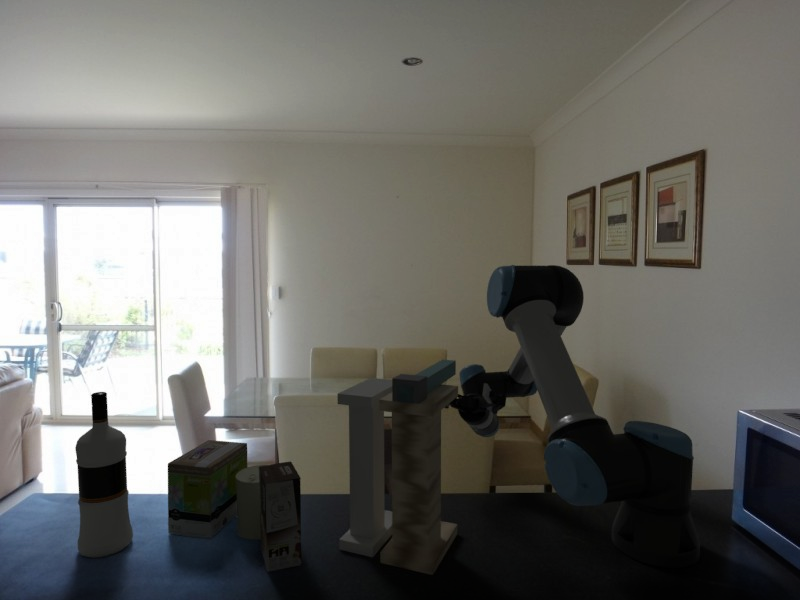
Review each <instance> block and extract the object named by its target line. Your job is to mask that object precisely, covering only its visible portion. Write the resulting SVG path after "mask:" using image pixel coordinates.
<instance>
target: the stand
mask: <svg viewBox="0 0 800 600" xmlns="http://www.w3.org/2000/svg"><path fill="white" fill-rule="evenodd" d="M390 393H392V379H388V378H387V379H385V378H375V377H369V378H368V379H366V380H363V381H362V382H359V383H357V384H355V385H353V386H350V387H348V388H346V389H344V390H343V391H340V392H338V393H337V394H336V395H337V405H341V406H342V405H343V406H348V439H349V440H348V447H349V449H348V450H349V451H348V453H349V455H348V456H349V457H348V458H349V459H348V460H349V529H348V530H347V531H346V532H345V533H344V534H343V535H342V536H341V537H340V538H339V539H338V540H339V542H338V543H339V546H338V547H339V550H340V551H343V552H349V553H353V554H356V555H361V556H365V557H368V558H369V557H370V558H374V557H375V556H376V554H377V553H378V552H380V550H381V549H382V547H383V546H384V545H385V544H386V542H387V541H388V540H390V539H391V537H392V510H386V508H385V411H379V400H380V399H381V398H383V397H385V396H387V395H388V394H390Z"/></svg>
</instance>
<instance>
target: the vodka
mask: <svg viewBox="0 0 800 600" xmlns="http://www.w3.org/2000/svg"><path fill="white" fill-rule="evenodd" d="M90 396H91V416H92V417H91V419H92V423H91V425H92V427H91V428H90V429H89V430H88V431H86V432H85V433H84V434H82V435H81V436H80V437H79V438H78V439H77V441H76V444H75V447H74V449H75V456H76V459H75V461H76V462H75V463H76V465H77V479H78V480H77V482H78V483H77V484H78V501H77V502H78V503H77V504H78V506H79V533H78V538H77V551H78V552H79V554H80V555H81V556H84V557H87V558H95V559H96V558H103V557H108V556H111V555H114V554H116V553H117V554H118V553H119V552H121V551H123V550H124V549H125V548H126V547H127V546H129V545H130V544H131V542H132V540H133V539H134V533H133V532H134V531H133V526H132V524H131V519H130V511H129V503H128V502H129V501H128V500H129V499H128V498H129V493H130V492H129V490H128V480H127V479H128V478H127V476H128V475H127V453H128V452H127V438H126V434H124V433H123V432H122V431H121V430H119V429H117V428H115V427H112V426H110V424H109V415H108V414H109V412H108V393H107V392H106V391H97V392H94V393H92V394H90Z"/></svg>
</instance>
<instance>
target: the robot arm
mask: <svg viewBox="0 0 800 600" xmlns="http://www.w3.org/2000/svg"><path fill="white" fill-rule="evenodd" d="M584 296H585V295H584V290H583V286H582V284H581V281H580V279H579V278H578V277H577V276H576V274H574V272H572V271H571V270H569V269H568V268H567V267H564V266H561V265H556V264H555V265H554V264H551V265H550V264H549V265H514V264H511V265H501V266H499V267H496V268H495V269H494V270H493V272H492V273H491V275H490V277H489V280H488V284H487V291H486V305H487V309H488V312H489V315H491V316H492V317H495V318H497V319H498V318H502V321H503V322H504V326H505V328H506V329H507V330H508V331H511V332H512V333H515V335H516V338H517V341H518V343H519V345H520V347H519V349H518V351H517V352H516V355H515V357H514V359H513V360H512V362H511V364H510V366H509V368H508V369H507V371H505V370H504V371H492V372H491V371H489V372H488V371H487V372H486V370H485V368H484V366H483V365H481V364H477V363H476V364H469V365H466V366H465V367H463V368H462V369H461V370H460V371H459V381H460V388H461V391H462V394H459V393H458V397H456V398H455V399H454V400H453V401H452V402H450V403H449V404H448V405H447V406H446V407H444V408H445V410H447V409H449V408H452V409H455V410H457V411H458V414H459V416H460V418H461V419H462V420H463V421H464V422H465V424H467V425H468V426H469V428H471V430H472V431H473V432H474V433H475V434H476V435H478V436H480V437H481V438H490V437H493V436H495V435H496V434H497V433H498V431H499V429H500V420H499V417H498V416H499V415H497V414H498V412H499V411H500V410H502V409H504V408H505V407H506V403H507V398H510V399H511V398H525V397H530V396H531V397H532V396H534V395H535V394H536V393H538V396H539V398H540V400H541V403H542V406H543V409H544V411H545V414H546V416H547V419H548V422H549V424H550V427H551V429H550V432H549V434H548V436H547V441H548V443H547V445H546V446H545V449H544V452H543V460H544V461H545V464H544V469H545V472H546V476H547V479H548V481H549V483H550V485H551V487H552V488H553V490H554V491H555V493H556V494H557V495H558V496H559V497H560V498H561V499H562V500H563V501H566V502H567V503H568V504H570V505H572V506H576V507H584V506H591V507H597V506H601V505H603V504H608V503H609V504H610V503H616V502H617V503H618V502H621V503H620V505H619V508H618V511H617V514H616V515H615V518H614V520H613V523H612V526H611V541H612V543H613V545H614V546H615V547H616V548H617V549H618V551H620V552H621V553H623V554H625V555H626V556H628V557H630V558H632V559H633V560H636V561H638V562H641V563H644V564H647V565H651V566H655V567H661V568H667V569H668V568H669V569H671V568H672V569H680V568H687V567H691V566H693V565H694V564H696V563H697V562H698V561H699V560H700V557H701V552H700V551H701V544H700V539H699V536H698V533H697V530H696V527H695V523H694V520H693V517H692V513H691V508H692V506H691V503H692V486H693V485H692V484H693V469H694V468H693V466H694V465H693V464H694V459H695V457H694V455H693V440H692V439H691V438H690V436H689V435H688V434H687V433H685V432H683V431H682V430H680V429H676V428H674V427H671V426H668V425H663V424H660V423H655V422H649V421H642V420H631V421H627V422H626V423H625V424H624V427H623V433H614V432H613V431H612V428H611V427H610V424H609V421H608V420H607V419H606V418H604V417H603V416H600V415H597V414H596V413H595V410H594V408H593V406H592V404H591V402H590V399H589V397H588V395H587V392H586V390H585V388H584V386H583V383H582V381H581V379H580V377H579V375H578V372H577V370H576V368H575V366H574V363H573V361H572V358H571V355H570V354H569V352H568V350H567V348H566V347H567V346H566V345H565V342H564V340H563V338H562V335H563V333H564V332H565V330H566V329H567V328H568V327H570V326H572V325H573V324H574V323H575V322H576V321H577V319H578V317H579V316H580V314H581V312H582V308H583V305H584ZM444 408H443V409H444Z"/></svg>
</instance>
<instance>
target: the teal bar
mask: <svg viewBox="0 0 800 600" xmlns="http://www.w3.org/2000/svg"><path fill="white" fill-rule="evenodd" d="M456 363H457V362H456V360H455V359H454V360H453V359H452V360H450V359H441V360H439V361H437V362H436V363H434V364H432V365H430V366H428V367H426V368H425V369H423V370H421V371H420V372H418V373H416V374H404V373H400V374H398V375H396V376H394V377H393V378H392V379H391V380H392V401H396V402H406V403H415V404H420V403H421V402H423V401H424V400H425V399H427V394H428V393H429V392H431V391H432V390H434V389H435V388H437V387H438V386H440V385H441V384H442V385H443V384H444V383H446V382H447V381H448V380H450V379H451V378H453V377H454V376H455V375H456V373H457V369H456V366H457V365H456Z"/></svg>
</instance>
